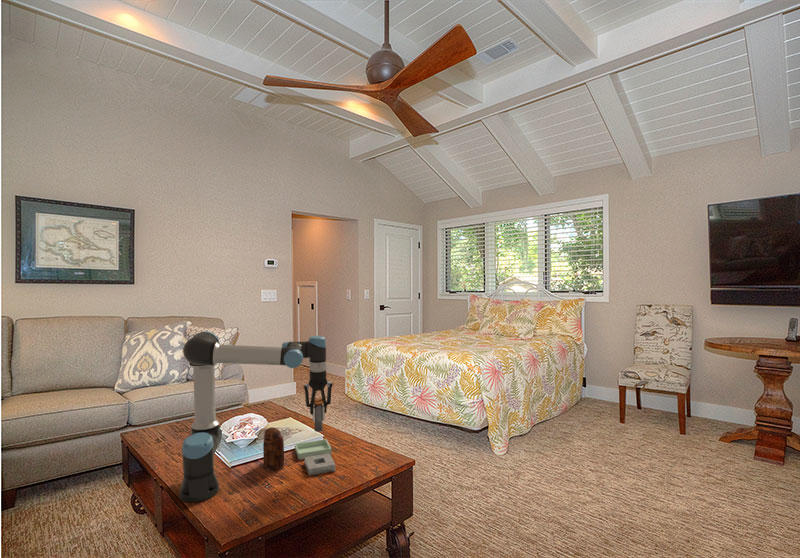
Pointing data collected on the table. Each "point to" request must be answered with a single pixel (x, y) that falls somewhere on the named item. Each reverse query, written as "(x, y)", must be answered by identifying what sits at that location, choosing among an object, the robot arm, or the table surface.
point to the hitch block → (319, 464)
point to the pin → (318, 414)
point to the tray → (312, 448)
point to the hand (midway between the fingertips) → (318, 420)
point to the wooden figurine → (273, 449)
